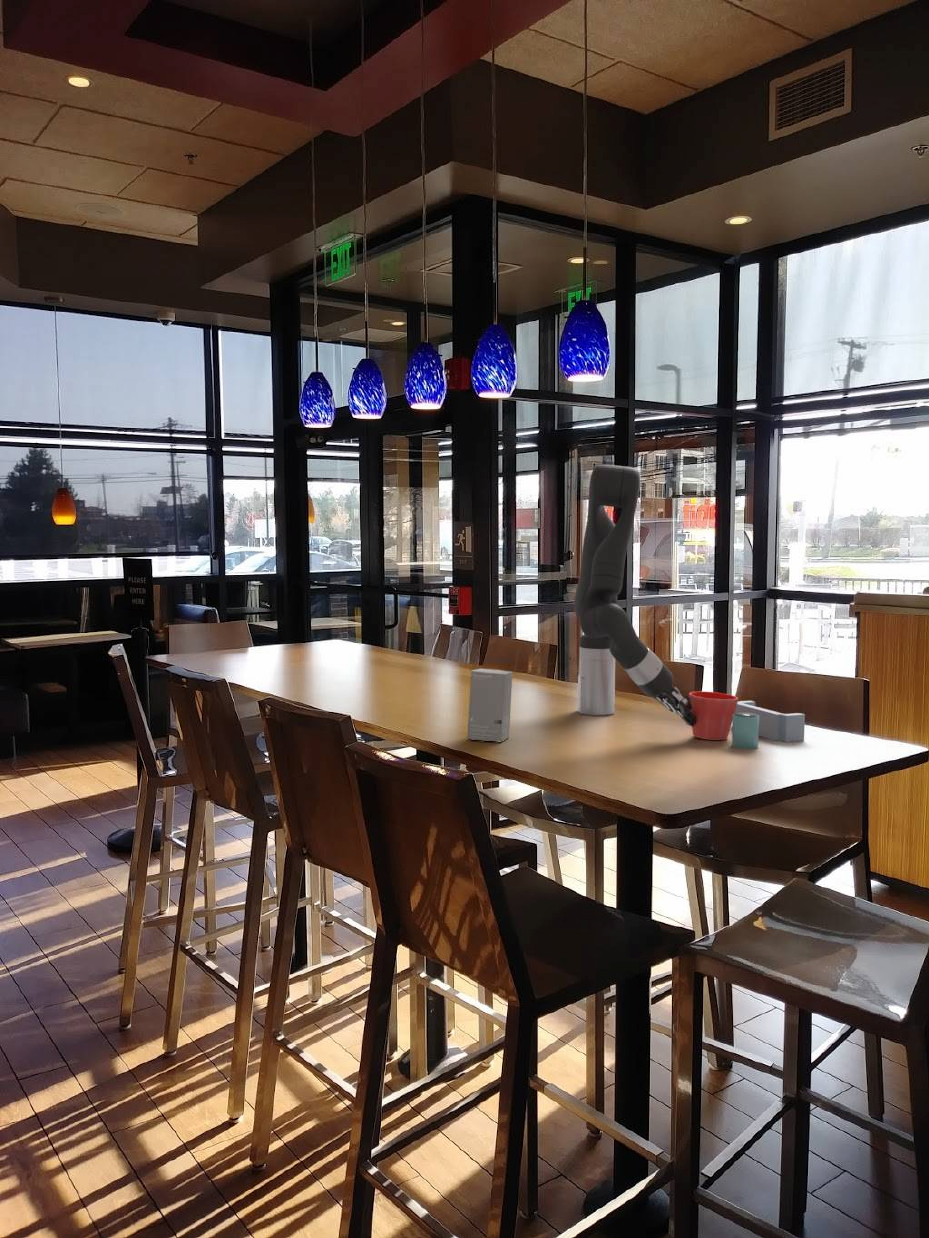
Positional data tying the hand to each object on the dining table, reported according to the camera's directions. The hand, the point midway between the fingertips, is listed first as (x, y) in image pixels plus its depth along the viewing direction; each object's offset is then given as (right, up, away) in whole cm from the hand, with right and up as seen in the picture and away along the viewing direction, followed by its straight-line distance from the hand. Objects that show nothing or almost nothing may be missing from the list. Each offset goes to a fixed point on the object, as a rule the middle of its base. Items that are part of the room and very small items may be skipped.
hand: (693, 722), depth 229 cm
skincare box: (-46, -4, -1) cm, 47 cm away
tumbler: (+10, -4, -7) cm, 13 cm away
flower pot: (+4, -4, +2) cm, 6 cm away
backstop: (+19, -3, +7) cm, 20 cm away
